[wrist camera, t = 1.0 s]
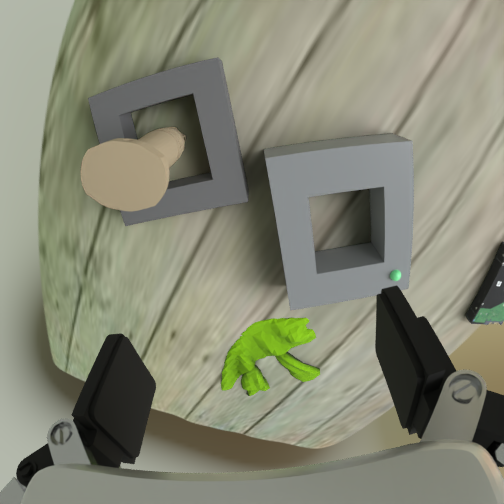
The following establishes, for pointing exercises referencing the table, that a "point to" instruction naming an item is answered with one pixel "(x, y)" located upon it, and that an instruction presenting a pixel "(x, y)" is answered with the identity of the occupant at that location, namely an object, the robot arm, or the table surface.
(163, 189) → the handle
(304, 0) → the table surface
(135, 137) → the grey square frame
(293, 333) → the cloth
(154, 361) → the table surface
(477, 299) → the disk drive
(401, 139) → the port block
